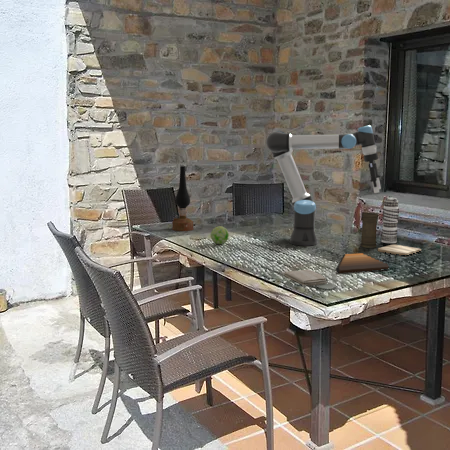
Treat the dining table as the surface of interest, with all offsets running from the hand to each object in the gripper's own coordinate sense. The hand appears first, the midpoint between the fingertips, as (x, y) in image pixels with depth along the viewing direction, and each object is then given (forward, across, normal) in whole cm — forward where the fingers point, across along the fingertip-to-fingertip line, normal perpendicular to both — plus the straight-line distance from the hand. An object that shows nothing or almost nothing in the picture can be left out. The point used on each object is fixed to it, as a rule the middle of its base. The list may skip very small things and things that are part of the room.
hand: (377, 191), depth 319 cm
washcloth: (+21, -94, +28) cm, 101 cm away
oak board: (+31, -22, -7) cm, 38 cm away
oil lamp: (0, -4, +120) cm, 120 cm away
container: (+27, -15, +9) cm, 32 cm away
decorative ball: (+8, -39, +84) cm, 93 cm away
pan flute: (+25, -62, +13) cm, 68 cm away
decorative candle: (+30, +3, 0) cm, 30 cm away
